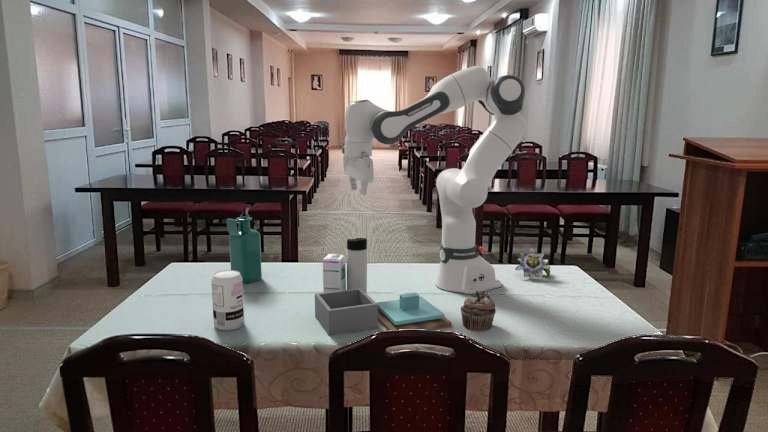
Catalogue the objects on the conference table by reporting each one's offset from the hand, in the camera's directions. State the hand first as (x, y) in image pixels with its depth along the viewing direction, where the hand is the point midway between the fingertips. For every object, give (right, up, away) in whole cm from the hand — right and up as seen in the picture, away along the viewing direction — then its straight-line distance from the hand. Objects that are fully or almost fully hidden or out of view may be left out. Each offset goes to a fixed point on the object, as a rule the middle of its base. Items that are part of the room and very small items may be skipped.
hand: (358, 192), depth 191 cm
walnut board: (+16, -38, -25) cm, 48 cm away
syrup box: (-7, -35, -11) cm, 37 cm away
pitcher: (-39, -30, +7) cm, 50 cm away
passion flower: (+61, -30, +15) cm, 70 cm away
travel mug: (0, -34, -10) cm, 36 cm away
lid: (+16, -36, -25) cm, 47 cm away
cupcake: (+35, -39, -29) cm, 60 cm away
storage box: (-2, -38, -28) cm, 47 cm away
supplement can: (-35, -39, -31) cm, 60 cm away
